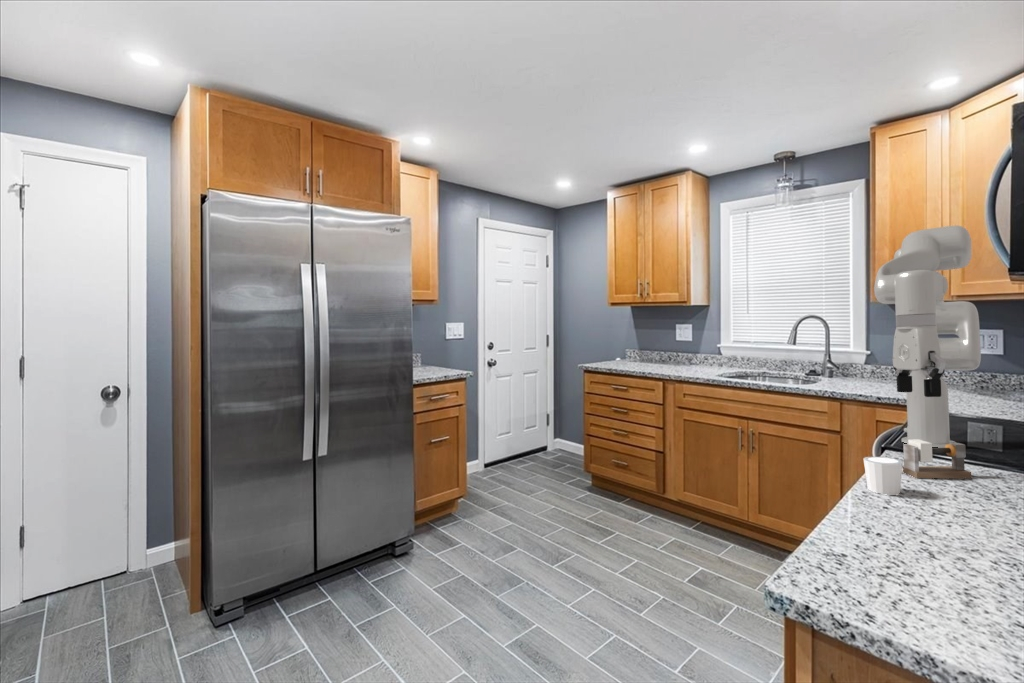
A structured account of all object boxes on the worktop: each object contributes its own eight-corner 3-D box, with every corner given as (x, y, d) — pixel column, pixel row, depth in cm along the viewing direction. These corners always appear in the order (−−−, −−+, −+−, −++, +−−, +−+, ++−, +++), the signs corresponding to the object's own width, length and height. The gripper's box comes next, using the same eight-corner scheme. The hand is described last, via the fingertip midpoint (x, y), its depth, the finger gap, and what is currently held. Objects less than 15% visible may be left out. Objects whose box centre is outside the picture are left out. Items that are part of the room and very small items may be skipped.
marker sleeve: (908, 457, 120) (908, 439, 120) (919, 457, 120) (919, 439, 120) (921, 462, 116) (920, 443, 116) (932, 462, 116) (931, 443, 116)
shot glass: (871, 495, 106) (870, 463, 106) (859, 486, 113) (858, 455, 112) (909, 497, 104) (908, 464, 104) (895, 487, 110) (894, 456, 110)
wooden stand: (903, 472, 121) (901, 442, 121) (955, 472, 119) (954, 441, 119) (916, 478, 116) (915, 446, 116) (971, 478, 114) (970, 446, 114)
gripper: (876, 324, 127) (879, 390, 127) (923, 322, 110) (926, 399, 110) (909, 323, 126) (911, 390, 126) (961, 320, 109) (963, 398, 109)
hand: (918, 394), depth 118 cm, fingers open, 9 cm apart
